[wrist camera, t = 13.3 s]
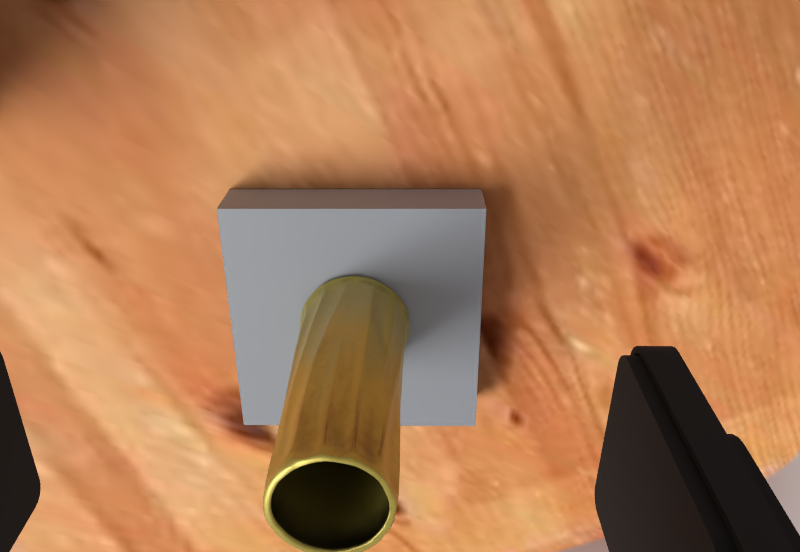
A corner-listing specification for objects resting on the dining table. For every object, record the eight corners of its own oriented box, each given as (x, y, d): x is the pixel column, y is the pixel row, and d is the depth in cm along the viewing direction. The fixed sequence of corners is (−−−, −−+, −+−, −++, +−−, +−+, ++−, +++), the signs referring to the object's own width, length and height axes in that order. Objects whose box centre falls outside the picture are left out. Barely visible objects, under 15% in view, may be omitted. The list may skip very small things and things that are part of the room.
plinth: (229, 189, 41) (216, 208, 38) (481, 189, 40) (486, 208, 38) (253, 395, 47) (244, 424, 44) (471, 396, 47) (475, 425, 44)
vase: (421, 287, 40) (425, 464, 27) (396, 377, 43) (389, 577, 30) (311, 263, 39) (262, 433, 27) (293, 357, 42) (240, 551, 29)
